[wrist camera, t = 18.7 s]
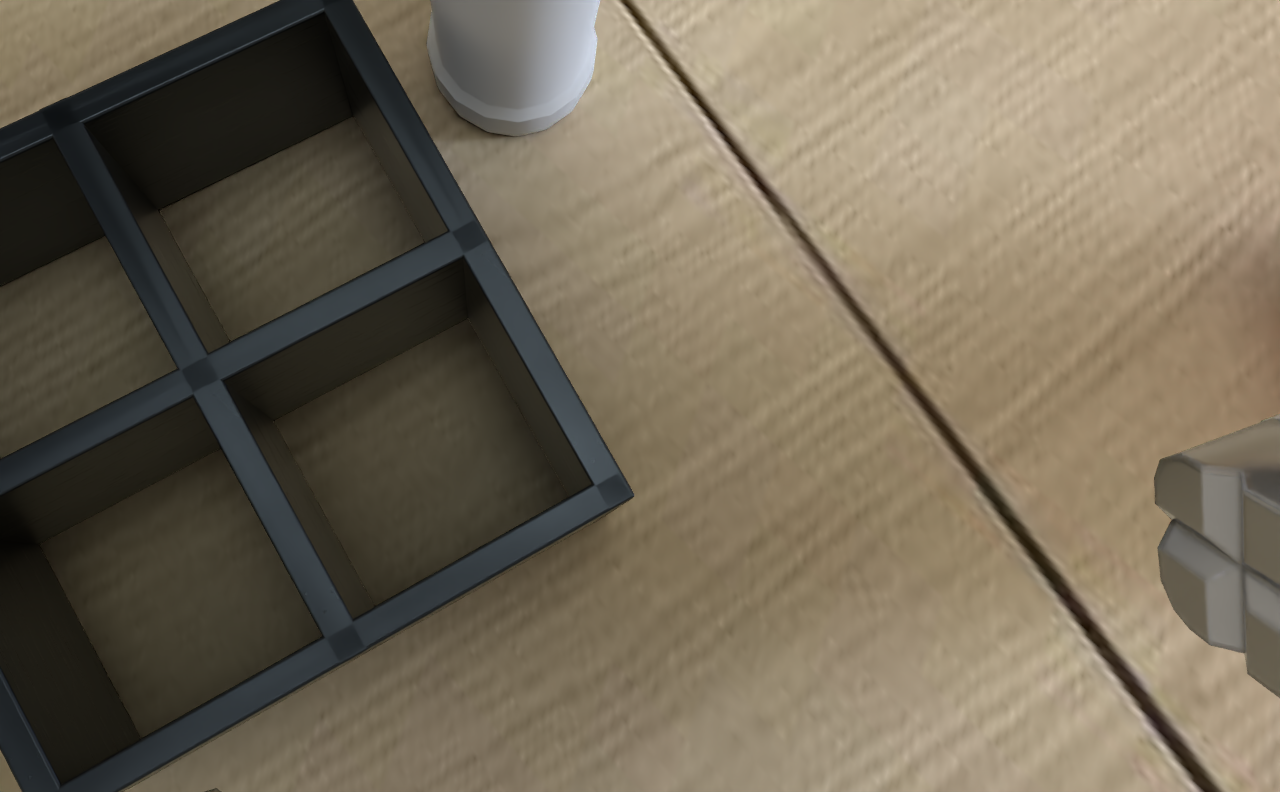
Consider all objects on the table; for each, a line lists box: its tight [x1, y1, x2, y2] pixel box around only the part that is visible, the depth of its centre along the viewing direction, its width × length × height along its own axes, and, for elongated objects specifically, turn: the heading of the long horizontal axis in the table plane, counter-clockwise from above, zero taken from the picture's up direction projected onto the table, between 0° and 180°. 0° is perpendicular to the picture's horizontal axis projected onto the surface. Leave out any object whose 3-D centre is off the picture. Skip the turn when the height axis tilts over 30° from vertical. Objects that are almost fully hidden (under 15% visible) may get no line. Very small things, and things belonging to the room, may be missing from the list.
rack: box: [0, 0, 634, 792], centre depth 33 cm, size 15×15×7 cm
